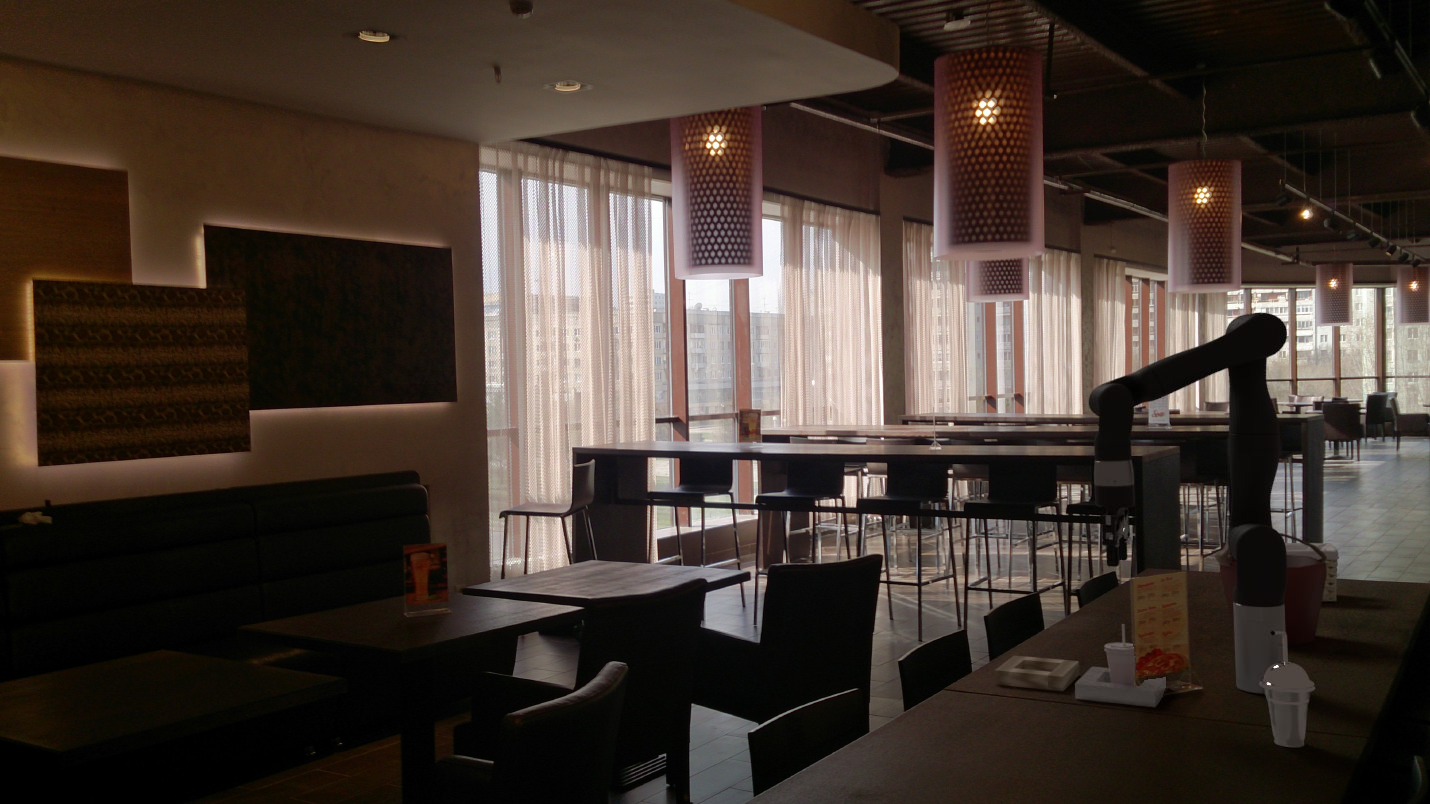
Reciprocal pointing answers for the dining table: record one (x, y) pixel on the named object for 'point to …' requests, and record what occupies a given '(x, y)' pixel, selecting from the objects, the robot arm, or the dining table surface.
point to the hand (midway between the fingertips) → (1117, 563)
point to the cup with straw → (1287, 698)
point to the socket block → (1037, 673)
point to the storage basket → (1330, 562)
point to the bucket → (1288, 591)
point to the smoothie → (1121, 661)
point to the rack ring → (1118, 689)
